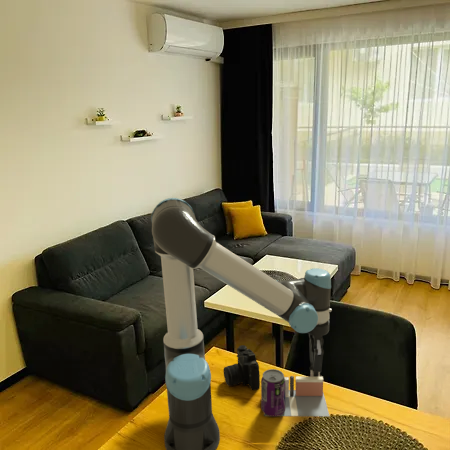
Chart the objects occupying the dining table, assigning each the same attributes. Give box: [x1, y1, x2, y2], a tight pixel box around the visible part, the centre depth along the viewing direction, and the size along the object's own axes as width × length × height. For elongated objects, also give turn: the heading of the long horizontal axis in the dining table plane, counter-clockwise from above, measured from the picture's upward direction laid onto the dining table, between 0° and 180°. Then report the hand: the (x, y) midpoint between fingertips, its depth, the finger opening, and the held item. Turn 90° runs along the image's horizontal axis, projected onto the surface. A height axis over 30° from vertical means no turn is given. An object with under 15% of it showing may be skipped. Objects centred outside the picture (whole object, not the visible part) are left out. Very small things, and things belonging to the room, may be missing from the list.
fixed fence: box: [284, 375, 295, 396], centre depth 136 cm, size 9×2×6 cm, turn 87°
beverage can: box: [260, 368, 285, 417], centre depth 128 cm, size 7×7×12 cm
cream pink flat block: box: [295, 375, 324, 396], centre depth 135 cm, size 8×2×6 cm, turn 87°
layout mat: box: [263, 389, 330, 417], centre depth 133 cm, size 19×12×1 cm, turn 87°
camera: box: [223, 345, 261, 391], centre depth 144 cm, size 14×11×10 cm
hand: (314, 385), depth 138 cm, fingers closed
